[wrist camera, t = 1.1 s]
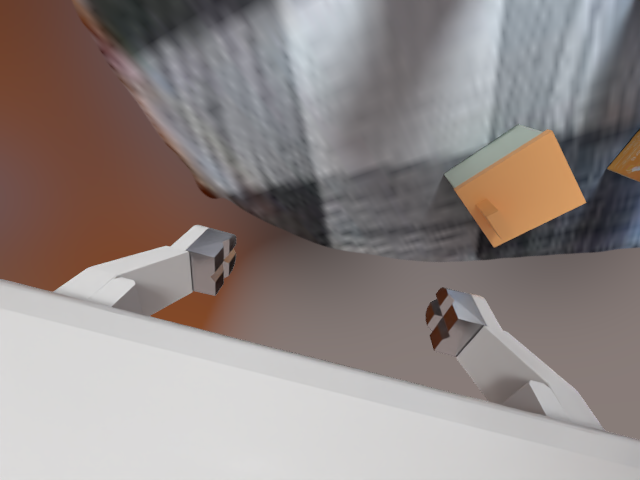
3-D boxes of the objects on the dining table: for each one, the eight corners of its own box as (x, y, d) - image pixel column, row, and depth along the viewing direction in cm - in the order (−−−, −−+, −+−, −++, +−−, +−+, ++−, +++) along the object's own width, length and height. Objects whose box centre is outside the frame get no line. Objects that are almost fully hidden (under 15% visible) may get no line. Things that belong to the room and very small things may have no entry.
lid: (542, 128, 34) (574, 137, 29) (576, 197, 38) (609, 215, 33) (451, 186, 40) (464, 202, 35) (488, 241, 44) (505, 262, 39)
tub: (518, 124, 39) (545, 132, 33) (548, 182, 43) (578, 199, 37) (443, 174, 45) (456, 188, 39) (476, 221, 48) (492, 242, 43)
